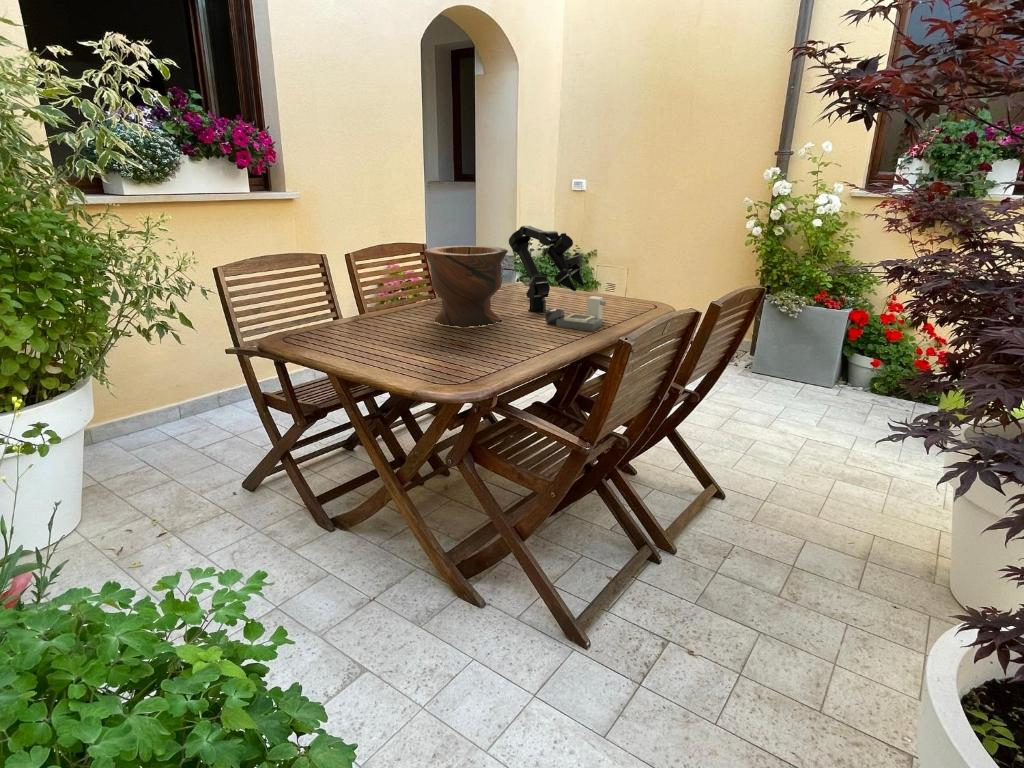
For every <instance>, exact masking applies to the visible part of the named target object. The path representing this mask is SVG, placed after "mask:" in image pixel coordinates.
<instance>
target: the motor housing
mask: <svg viewBox="0 0 1024 768" xmlns="http://www.w3.org/2000/svg"><path fill="white" fill-rule="evenodd" d="M544 317H545V322H546V323H549V324H556V326H557V327H556V328H563V327H565V328H564V329H571V328H575V329H574V330H579V329H583V330H582V331H586V330H591V331H590V332H594V331H596V330H598V329H600V328H601V327H602V326H603V318H602V319H599V318H595V316H593V315H587V314H583V313H575V312H574V313H571V314H565V310H563V309H559V308H546V310H545V316H544ZM600 326H601V327H600ZM597 328H598V329H597ZM595 329H596V330H595Z"/></svg>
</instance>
